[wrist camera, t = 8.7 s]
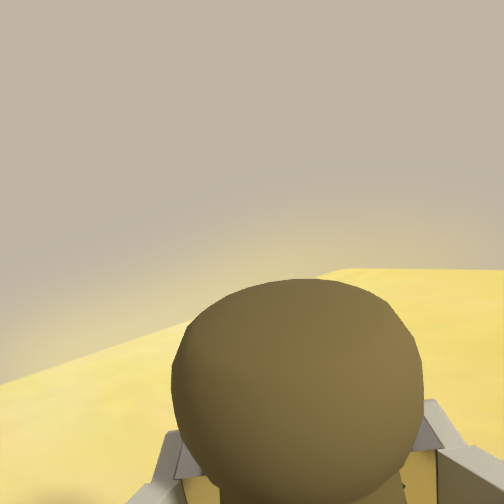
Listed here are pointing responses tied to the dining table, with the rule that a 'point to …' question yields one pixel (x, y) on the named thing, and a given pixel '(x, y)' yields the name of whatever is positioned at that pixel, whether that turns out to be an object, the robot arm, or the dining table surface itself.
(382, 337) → the brown chess pawn
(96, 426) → the dining table surface
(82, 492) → the dining table surface
